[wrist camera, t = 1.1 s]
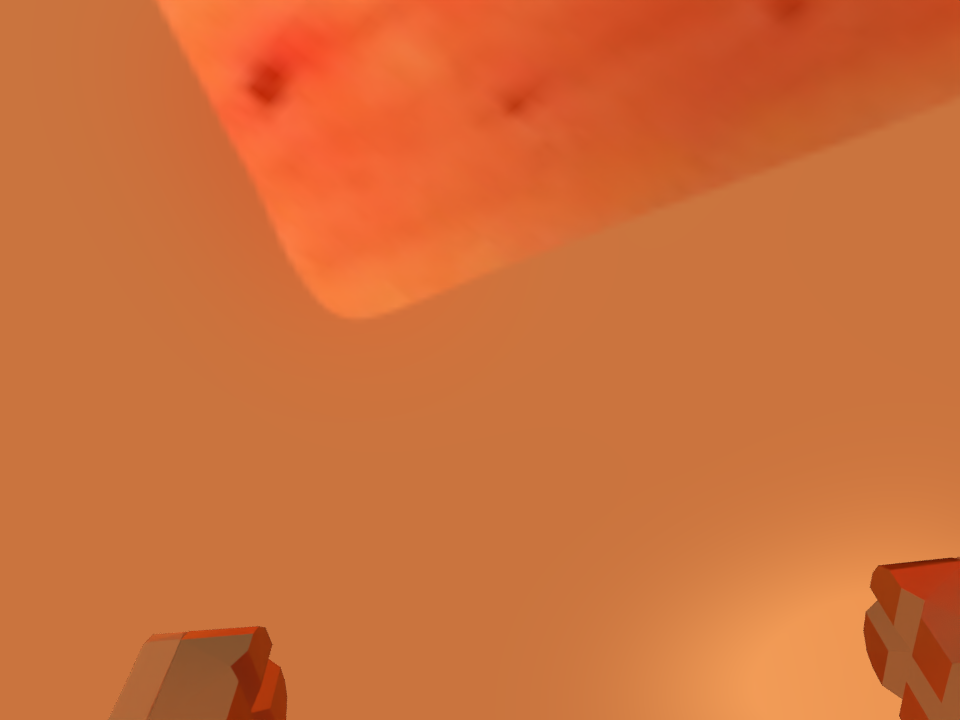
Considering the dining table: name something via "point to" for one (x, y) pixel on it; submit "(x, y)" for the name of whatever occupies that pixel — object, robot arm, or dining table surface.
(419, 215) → the dining table surface
